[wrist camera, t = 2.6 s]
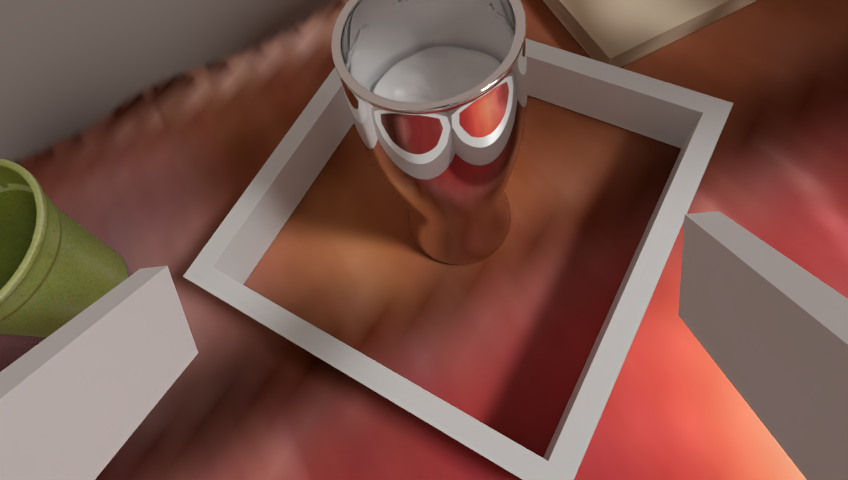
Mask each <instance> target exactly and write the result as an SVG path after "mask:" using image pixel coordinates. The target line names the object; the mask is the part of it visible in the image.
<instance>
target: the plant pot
mask: <svg viewBox="0 0 848 480" xmlns="http://www.w3.org/2000/svg"><path fill="white" fill-rule="evenodd" d="M127 278H128V271H127V267H126V264H125V262H124V260H123V258H122V257H121V256H120V255H119V254H118V253H117V252H116V251H114V250H113V249H112V248H110V247H109V246H108V245H106V244H105V243H103V242H102V241H101V240H99V239H98V238H97V237H95V236H94V235H93V234H91V233H90V232H89V231H87V230H86V229H85V228H83V227H82V226H81V225H80V224H78V223H77V222H76V221H74V220H73V219H72V218H70V217H69V216H68V215H66V214H65V213H64V212H62V211H61V210H60V209H59V208H57V207H56V206H55V205H54V204H53V202H52V201H51V199H50V198H49V197H48V196H47V195H46V194H45V193H44V191H43V189H42V187H41V185H40V184H39V182H38V181H37V179H36V178H35V177H34V176H33V175H32V174H31V173H30V172H29V171H28V170H26V169H25V168H23V167H22V166H20V165H18V164H16V163H14V162H12V161H9V160H5V159H0V334H3V335H17V336H31V337H43V338H47V337H48V336H50V335H51V334H52V333H54V332H55V331H57V330H58V329H59V328H61V327H62V326H63V325H65V324H66V323H67V322H69V321H70V320H71V319H73V318H74V317H76V316H77V315H78V314H80V313H81V312H82V311H84V310H85V309H86V308H88V307H89V306H90V305H92V304H93V303H94V302H96V301H97V300H99V299H100V298H101V297H103V296H104V295H105V294H107V293H108V292H109V291H111V290H112V289H113V288H115V287H116V286H118V285H119V284H120V283H122V282H123V281H124V280H126V279H127Z"/></svg>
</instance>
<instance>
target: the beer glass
mask: <svg viewBox="0 0 848 480" xmlns="http://www.w3.org/2000/svg"><path fill="white" fill-rule="evenodd" d="M525 35H526V17H525V12H524V8H523V5H522V3H521V1H520V0H349V1H348V2H347V3H346V5H345V6H344V7H343V9H342V11H341V12H340V14H339V16H338V18H337V20H336V23H335V26H334V29H333V33H332V40H331V52H332V58H333V62H334V65H335V68H336V70H337V72H338V74H339V77H340V80H341V83H342V87H343V90H344V93H345V97H346V100H347V103H348V106H349V109H350V112H351V115H352V118H353V121H354V124H355V126H356V129H357V131H358V134H359V136H360V139H361V141H362V143H363V145H364V147H365V149H366V151H367V153H368V155H369V157H370V159H371V161H372V162H373V164H374V166H375V167H376V168H377V170H378V171H379V173H380V174H381V175H382V177H383V178H384V180H385V181H386V182H387V184H388V185H389V186H390V187H391V188H392V189H393V190H394V192H395V193H396V194H397V195H398V196H399V197H400V198H401V199H402V201H403V202H404V203H405V204H406V205H407V206H408V207H409V225H410V230H411V233H412V236H413V238H414V240H415V242H416V243H417V245H418V246H419V247H420V249H421V250H422V251H424V252H425V253H426V254H427V255H429V256H430V257H432V258H433V259H435V260H437V261H440V262H443V263H447V264H453V265H464V264H470V263H474V262H477V261H480V260H482V259H484V258H486V257H487V256H489V255H490V254H492V253H493V252H494V251H495V250H496V249H497V248H498V247H499V246H500V245H501V244H502V242H503V241H504V239H505V237H506V235H507V233H508V231H509V227H510V222H511V210H510V205H509V201H508V198H507V196H506V193H505V191H504V190H505V187H506V185H507V182H508V180H509V177H510V175H511V172H512V170H513V167H514V165H515V162H516V159H517V156H518V153H519V149H520V146H521V142H522V139H523V134H524V127H525V119H526V112H527V87H528V81H527V57H526V41H525Z"/></svg>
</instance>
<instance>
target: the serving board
mask: <svg viewBox="0 0 848 480" xmlns="http://www.w3.org/2000/svg"><path fill="white" fill-rule="evenodd" d="M755 1H757V0H543V2H544V3H545V4H546V5H547V6H548V8H549V9H550V10H551V11H552V12H553V14H554V15H555V16H556V17H557V18H558V20H559V21H560V22H561V23H562V24H563V25H564V27H565V28H566V29H567V30H568V31H569V33H570V34H571V35H572V36H573V37H574V39H575V40H576V41H577V42H578V43H579V45H580V46H581V47H582V48H583V49H584V50H585V52H586V53H587V54H588V55H589V56H590V58H591V59H594V60H597V61H600V62H603V63H606V64H610V65H613V66H616V67H619V68H621V67H623V66H625V65H627V64H629V63H631V62H633V61H635V60H637V59H639V58H641V57H643V56H645V55H647V54H650V53H652V52H654V51H656V50H658V49H660V48H662V47H664V46H666V45H668V44H670V43H672V42H674V41H676V40H678V39H680V38H682V37H684V36H686V35H688V34H690V33H692V32H694V31H696V30H698V29H700V28H702V27H705V26H707V25H709V24H711V23H713V22H715V21H717V20H719V19H721V18H723V17H725V16H727V15H729V14H731V13H733V12H735V11H737V10H739V9H741V8H743V7H745V6H747V5H749V4H751V3H753V2H755Z"/></svg>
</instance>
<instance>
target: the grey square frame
mask: <svg viewBox="0 0 848 480" xmlns="http://www.w3.org/2000/svg"><path fill="white" fill-rule="evenodd" d="M525 41H526V57H527V81H528V87H527V95H529V96H532V97H535V98H537V99H540V100H543V101H546V102H549V103H552V104H555V105H558V106H560V107H563V108H566V109H569V110H572V111H575V112H578V113H581V114H583V115H586V116H589V117H592V118H595V119H598V120H601V121H604V122H606V123H609V124H612V125H615V126H618V127H621V128H624V129H627V130H629V131H632V132H635V133H638V134H641V135H644V136H647V137H650V138H652V139H655V140H658V141H661V142H664V143H667V144H670V145H673V146H675V147H678V148H681V151H680V153H679V155H678V157H677V160H676V162H675V164H674V166H673V168H672V171H671V173H670V175H669V177H668V180H667V182H666V184H665V186H664V189H663V191H662V193H661V195H660V198H659V200H658V202H657V204H656V206H655V209H654V211H653V213H652V215H651V218H650V220H649V222H648V224H647V227H646V229H645V231H644V233H643V236H642V238H641V240H640V242H639V244H638V247H637V249H636V251H635V253H634V256H633V258H632V260H631V262H630V265H629V267H628V269H627V271H626V274H625V276H624V278H623V280H622V282H621V285H620V287H619V289H618V291H617V294H616V296H615V298H614V300H613V303H612V305H611V307H610V309H609V312H608V314H607V316H606V318H605V321H604V323H603V325H602V327H601V329H600V332H599V334H598V336H597V338H596V341H595V343H594V345H593V347H592V350H591V352H590V354H589V356H588V359H587V361H586V363H585V365H584V367H583V370H582V372H581V374H580V376H579V379H578V381H577V383H576V385H575V388H574V390H573V392H572V394H571V397H570V399H569V401H568V403H567V405H566V408H565V410H564V412H563V414H562V417H561V419H560V421H559V423H558V426H557V428H556V430H555V432H554V435H553V437H552V439H551V441H550V443H549V446H548V448H547V450H546V452H545V455H544V457H543V458H542V457H540V456H539V455H537V454H535V453H533V452H532V451H530V450H528V449H526V448H525V447H523V446H521V445H520V444H518V443H516V442H514V441H513V440H511V439H509V438H507V437H506V436H504V435H502V434H500V433H499V432H497V431H495V430H494V429H492V428H490V427H488V426H487V425H485V424H483V423H481V422H480V421H478V420H476V419H474V418H473V417H471V416H469V415H468V414H466V413H464V412H462V411H461V410H459V409H457V408H455V407H454V406H452V405H450V404H448V403H447V402H445V401H443V400H442V399H440V398H438V397H436V396H435V395H433V394H431V393H429V392H428V391H426V390H424V389H422V388H421V387H419V386H417V385H416V384H414V383H412V382H410V381H409V380H407V379H405V378H403V377H402V376H400V375H398V374H396V373H395V372H393V371H391V370H390V369H388V368H386V367H384V366H383V365H381V364H379V363H377V362H376V361H374V360H372V359H370V358H369V357H367V356H365V355H364V354H362V353H360V352H358V351H357V350H355V349H353V348H351V347H350V346H348V345H346V344H344V343H343V342H341V341H339V340H338V339H336V338H334V337H332V336H331V335H329V334H327V333H325V332H324V331H322V330H320V329H318V328H317V327H315V326H313V325H312V324H310V323H308V322H306V321H305V320H303V319H301V318H299V317H298V316H296V315H294V314H292V313H291V312H289V311H287V310H286V309H284V308H282V307H280V306H279V305H277V304H275V303H273V302H272V301H270V300H268V299H266V298H265V297H263V296H261V295H260V294H258V293H256V292H254V291H253V290H251V289H249V288H247V287H246V286H244V285H243V284H244V283H245V281H246V280H247V279H248V277H249V276H250V274H251V273H252V271H253V270H254V268H255V267H256V265H257V264H258V262H259V261H260V260H261V258H262V257H263V255H264V254H265V252H266V251H267V249H268V248H269V246H270V245H271V243H272V242H273V241H274V239H275V238H276V236H277V235H278V233H279V232H280V230H281V229H282V227H283V226H284V224H285V223H286V222H287V220H288V219H289V217H290V216H291V214H292V213H293V211H294V210H295V208H296V207H297V205H298V204H299V203H300V201H301V200H302V198H303V197H304V195H305V194H306V192H307V191H308V189H309V188H310V186H311V185H312V184H313V182H314V181H315V179H316V178H317V176H318V175H319V173H320V172H321V170H322V169H323V167H324V166H325V165H326V163H327V162H328V160H329V159H330V157H331V156H332V154H333V153H334V151H335V150H336V148H337V147H338V146H339V144H340V143H341V141H342V140H343V138H344V137H345V135H346V134H347V132H348V131H349V129H350V128H351V127H352V125H353V124H354V121H353V118H352V115H351V112H350V109H349V106H348V103H347V100H346V97H345V93H344V90H343V87H342V83H341V80H340V77H339V74H338V72H337V70H336V68H334V69H333V70H332V72H331V73H330V74H329V76H328V77H327V79H326V80H325V81H324V83H323V84H322V85H321V87H320V88H319V90H318V91H317V92H316V94H315V95H314V96H313V98H312V99H311V101H310V102H309V103H308V105H307V106H306V107H305V109H304V110H303V112H302V113H301V114H300V116H299V117H298V118H297V120H296V121H295V123H294V124H293V125H292V127H291V128H290V130H289V131H288V132H287V134H286V135H285V136H284V138H283V139H282V141H281V142H280V143H279V145H278V146H277V147H276V149H275V150H274V152H273V153H272V154H271V156H270V157H269V158H268V160H267V161H266V163H265V164H264V165H263V167H262V168H261V169H260V171H259V172H258V174H257V175H256V176H255V178H254V179H253V180H252V182H251V183H250V185H249V186H248V187H247V189H246V190H245V192H244V193H243V194H242V196H241V197H240V198H239V200H238V201H237V203H236V204H235V205H234V207H233V208H232V209H231V211H230V212H229V214H228V215H227V216H226V218H225V219H224V220H223V222H222V223H221V225H220V226H219V227H218V229H217V230H216V231H215V233H214V234H213V236H212V237H211V238H210V240H209V241H208V242H207V244H206V245H205V247H204V248H203V249H202V251H201V252H200V254H199V255H198V256H197V258H196V259H195V260H194V262H193V263H192V265H191V266H190V267H189V269H188V270H187V271H186V273H185V274H184V276H183V277H185V278H186V279H188V280H190V281H191V282H193V283H195V284H196V285H198V286H200V287H201V288H203V289H205V290H206V291H208V292H210V293H211V294H213V295H215V296H216V297H218V298H220V299H221V300H223V301H225V302H226V303H228V304H230V305H231V306H233V307H235V308H236V309H238V310H240V311H241V312H243V313H245V314H246V315H248V316H250V317H251V318H253V319H255V320H256V321H258V322H260V323H261V324H263V325H265V326H266V327H268V328H270V329H271V330H273V331H275V332H276V333H278V334H280V335H282V336H283V337H285V338H287V339H288V340H290V341H292V342H293V343H295V344H297V345H298V346H300V347H302V348H303V349H305V350H307V351H308V352H310V353H312V354H313V355H315V356H317V357H318V358H320V359H322V360H323V361H325V362H327V363H328V364H330V365H332V366H333V367H335V368H337V369H338V370H340V371H342V372H343V373H345V374H347V375H348V376H350V377H352V378H353V379H355V380H357V381H358V382H360V383H362V384H363V385H365V386H367V387H368V388H370V389H372V390H373V391H375V392H377V393H378V394H380V395H382V396H383V397H385V398H387V399H388V400H390V401H392V402H393V403H395V404H397V405H398V406H400V407H402V408H403V409H405V410H407V411H408V412H410V413H412V414H413V415H415V416H417V417H418V418H420V419H422V420H424V421H425V422H427V423H429V424H430V425H432V426H434V427H435V428H437V429H439V430H440V431H442V432H444V433H445V434H447V435H449V436H450V437H452V438H454V439H455V440H457V441H459V442H460V443H462V444H464V445H465V446H467V447H469V448H470V449H472V450H474V451H475V452H477V453H479V454H480V455H482V456H484V457H485V458H487V459H489V460H490V461H492V462H494V463H495V464H497V465H499V466H500V467H502V468H504V469H505V470H507V471H509V472H510V473H512V474H514V475H515V476H517V477H519V478H520V479H522V480H574V478H575V475H576V473H577V471H578V468H579V466H580V464H581V461H582V459H583V457H584V454H585V452H586V450H587V447H588V445H589V442H590V440H591V438H592V435H593V433H594V431H595V428H596V426H597V424H598V421H599V419H600V417H601V414H602V412H603V410H604V407H605V405H606V402H607V400H608V398H609V395H610V393H611V391H612V388H613V386H614V384H615V381H616V379H617V377H618V374H619V372H620V369H621V367H622V365H623V362H624V360H625V358H626V355H627V353H628V351H629V348H630V346H631V344H632V341H633V339H634V337H635V334H636V332H637V329H638V327H639V325H640V322H641V320H642V318H643V315H644V313H645V311H646V308H647V306H648V304H649V301H650V299H651V296H652V294H653V292H654V289H655V287H656V285H657V282H658V280H659V278H660V275H661V273H662V271H663V268H664V266H665V264H666V261H667V259H668V256H669V254H670V252H671V249H672V247H673V245H674V242H675V240H676V238H677V235H678V233H679V231H680V228H681V226H682V223H683V221H684V219H685V214H687V212H688V209H689V207H690V205H691V202H692V200H693V198H694V195H695V193H696V191H697V188H698V186H699V183H700V181H701V179H702V176H703V174H704V172H705V169H706V167H707V165H708V162H709V160H710V158H711V155H712V153H713V150H714V148H715V146H716V143H717V141H718V139H719V136H720V134H721V132H722V129H723V127H724V125H725V122H726V120H727V118H728V115H729V113H730V110H731V108H732V106H733V103H732V102H728V101H725V100H722V99H719V98H715V97H712V96H709V95H706V94H703V93H699V92H696V91H693V90H690V89H687V88H683V87H680V86H677V85H674V84H671V83H667V82H664V81H661V80H658V79H655V78H651V77H648V76H645V75H642V74H638V73H635V72H632V71H629V70H626V69H622V68H619V67H616V66H613V65H610V64H606V63H603V62H600V61H597V60H594V59H590V58H587V57H584V56H581V55H578V54H574V53H571V52H568V51H565V50H562V49H558V48H555V47H552V46H549V45H545V44H542V43H539V42H536V41H533V40H529V39H526V38H525Z"/></svg>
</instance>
